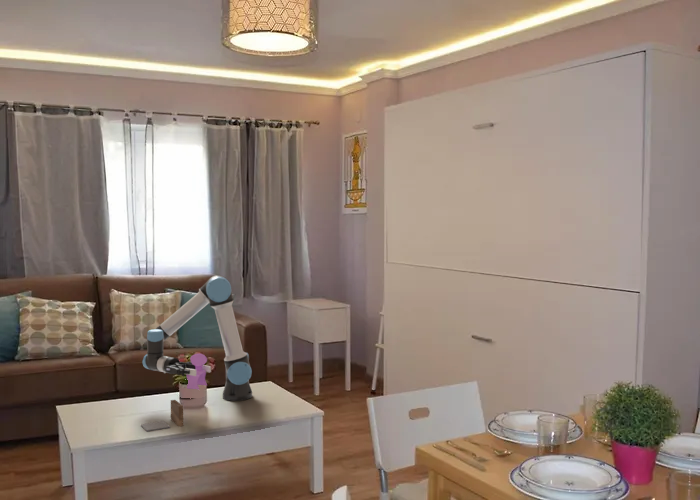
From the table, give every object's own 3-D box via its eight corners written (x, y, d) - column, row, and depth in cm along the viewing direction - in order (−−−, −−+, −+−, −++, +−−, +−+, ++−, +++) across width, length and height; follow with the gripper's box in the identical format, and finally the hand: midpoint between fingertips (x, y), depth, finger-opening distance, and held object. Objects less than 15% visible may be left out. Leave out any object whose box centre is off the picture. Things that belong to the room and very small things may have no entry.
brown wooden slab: (175, 419, 303) (174, 399, 303) (183, 425, 293) (183, 405, 293) (170, 419, 302) (170, 400, 302) (178, 426, 292) (178, 406, 292)
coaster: (163, 422, 298) (163, 420, 298) (169, 427, 290) (169, 426, 290) (140, 425, 293) (140, 424, 293) (146, 431, 285) (146, 430, 285)
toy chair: (183, 388, 301) (183, 355, 300) (192, 384, 309) (192, 352, 309) (200, 389, 299) (200, 356, 298) (209, 385, 307) (209, 353, 307)
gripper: (185, 368, 322) (219, 375, 310) (151, 376, 305) (185, 383, 292) (185, 353, 322) (219, 359, 309) (151, 360, 304) (185, 367, 292)
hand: (203, 371), depth 301 cm, fingers closed on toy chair, 8 cm apart
